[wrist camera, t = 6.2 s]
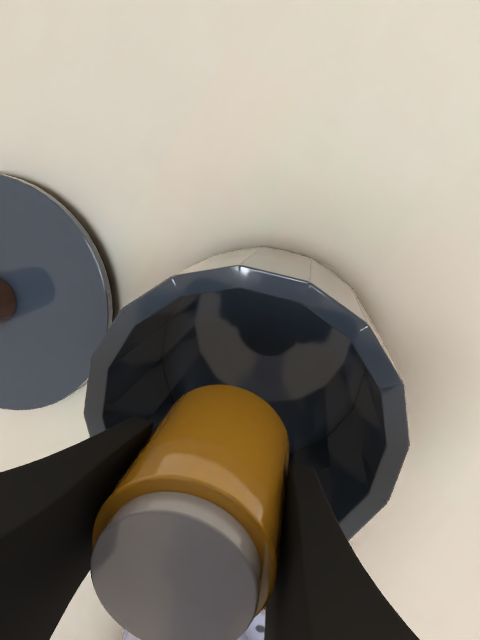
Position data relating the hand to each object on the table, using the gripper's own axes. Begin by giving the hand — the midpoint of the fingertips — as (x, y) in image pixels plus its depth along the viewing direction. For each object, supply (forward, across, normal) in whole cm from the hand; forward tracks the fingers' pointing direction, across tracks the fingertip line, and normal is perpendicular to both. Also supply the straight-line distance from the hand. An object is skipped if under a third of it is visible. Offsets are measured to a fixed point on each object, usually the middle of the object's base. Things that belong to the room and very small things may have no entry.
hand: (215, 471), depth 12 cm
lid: (+8, +13, 0) cm, 15 cm away
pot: (+9, 0, 0) cm, 9 cm away
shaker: (+1, 0, 0) cm, 1 cm away
